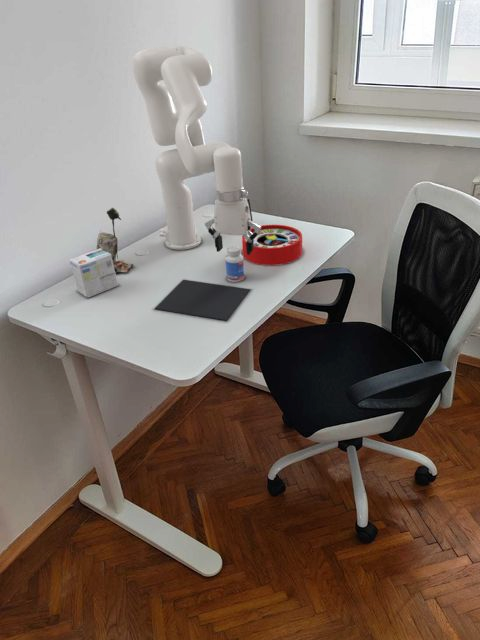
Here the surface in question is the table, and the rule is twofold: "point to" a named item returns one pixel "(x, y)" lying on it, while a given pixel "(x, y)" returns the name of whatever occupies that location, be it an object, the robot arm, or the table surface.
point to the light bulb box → (93, 272)
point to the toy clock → (274, 245)
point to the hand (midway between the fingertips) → (234, 251)
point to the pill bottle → (234, 264)
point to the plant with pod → (112, 244)
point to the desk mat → (203, 300)
